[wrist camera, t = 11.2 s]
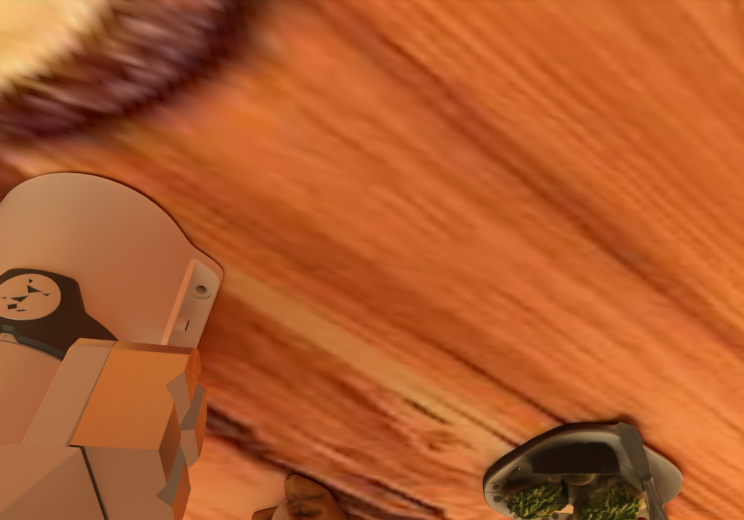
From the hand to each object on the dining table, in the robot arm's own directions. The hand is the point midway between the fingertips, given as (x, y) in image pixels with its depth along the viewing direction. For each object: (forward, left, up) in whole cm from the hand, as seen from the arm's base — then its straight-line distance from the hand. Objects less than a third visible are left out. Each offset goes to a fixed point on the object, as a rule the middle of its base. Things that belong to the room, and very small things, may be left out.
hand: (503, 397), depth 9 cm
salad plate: (-48, -27, -35) cm, 65 cm away
